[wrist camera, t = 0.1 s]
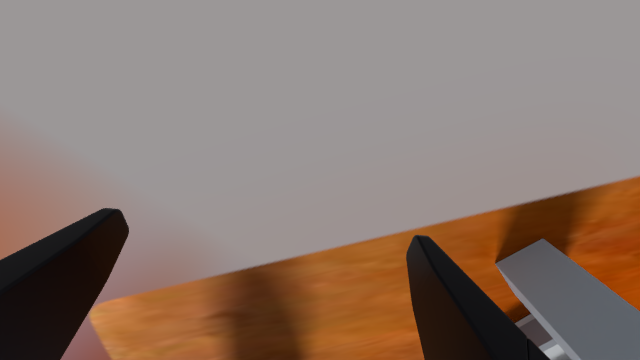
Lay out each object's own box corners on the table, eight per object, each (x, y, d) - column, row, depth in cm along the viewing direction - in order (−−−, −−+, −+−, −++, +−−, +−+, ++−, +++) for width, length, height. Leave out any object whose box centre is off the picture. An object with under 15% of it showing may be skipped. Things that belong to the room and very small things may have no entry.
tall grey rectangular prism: (514, 293, 30) (662, 464, 17) (494, 263, 28) (641, 425, 15) (560, 270, 29) (756, 435, 16) (543, 238, 27) (743, 390, 14)
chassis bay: (525, 381, 35) (544, 409, 32) (483, 341, 32) (499, 367, 30) (603, 341, 33) (631, 368, 30) (564, 294, 30) (590, 318, 27)
